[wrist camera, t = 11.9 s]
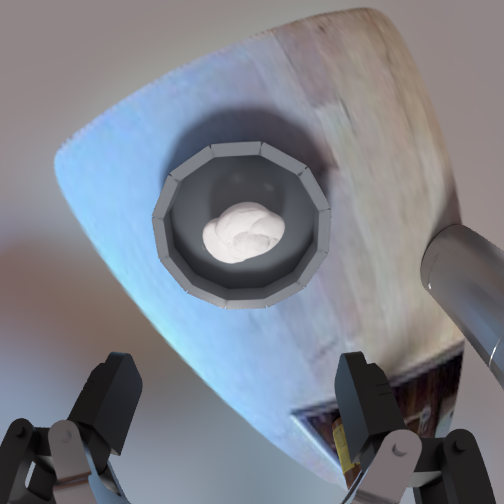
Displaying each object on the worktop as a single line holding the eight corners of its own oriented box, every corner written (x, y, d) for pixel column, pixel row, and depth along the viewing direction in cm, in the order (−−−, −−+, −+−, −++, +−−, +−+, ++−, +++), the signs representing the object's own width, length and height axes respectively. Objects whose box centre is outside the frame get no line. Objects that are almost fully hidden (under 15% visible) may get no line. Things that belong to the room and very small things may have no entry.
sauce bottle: (338, 431, 41) (357, 524, 23) (325, 420, 39) (343, 524, 21) (371, 417, 40) (398, 510, 22) (360, 404, 38) (390, 510, 19)
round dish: (323, 140, 22) (332, 141, 20) (317, 289, 28) (323, 304, 26) (154, 149, 22) (143, 152, 20) (176, 294, 28) (169, 309, 26)
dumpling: (264, 181, 23) (267, 191, 19) (291, 233, 25) (298, 251, 21) (193, 219, 24) (183, 236, 21) (222, 266, 26) (218, 289, 22)
